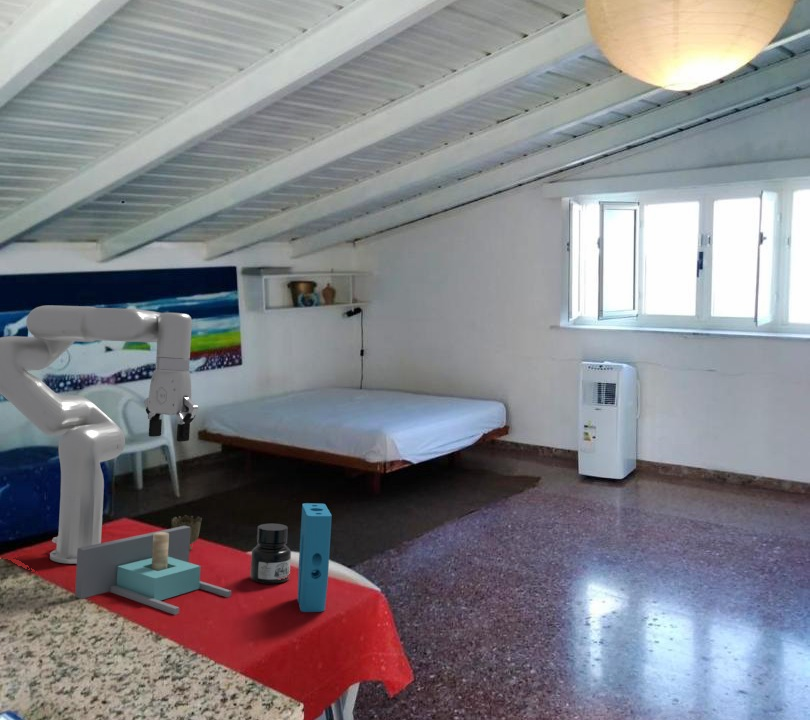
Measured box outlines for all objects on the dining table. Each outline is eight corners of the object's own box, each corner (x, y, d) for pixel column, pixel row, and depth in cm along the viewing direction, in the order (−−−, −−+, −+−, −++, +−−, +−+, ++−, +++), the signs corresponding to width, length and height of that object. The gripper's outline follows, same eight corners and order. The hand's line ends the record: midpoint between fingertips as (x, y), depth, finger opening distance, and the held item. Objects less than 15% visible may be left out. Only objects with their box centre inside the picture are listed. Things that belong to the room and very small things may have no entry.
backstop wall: (74, 596, 155) (77, 548, 155) (182, 567, 179) (184, 525, 179) (147, 623, 143) (150, 571, 143) (252, 589, 167) (255, 543, 166)
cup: (163, 550, 192) (165, 518, 192) (182, 544, 199) (183, 513, 199) (187, 554, 190) (189, 523, 189) (205, 548, 196) (207, 517, 196)
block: (326, 614, 154) (332, 516, 153) (301, 615, 153) (307, 516, 152) (319, 595, 165) (324, 503, 165) (296, 595, 164) (301, 503, 164)
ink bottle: (261, 587, 168) (264, 533, 168) (241, 577, 175) (244, 525, 174) (298, 580, 174) (301, 528, 174) (277, 570, 181) (280, 520, 181)
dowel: (147, 590, 162) (150, 534, 162) (159, 586, 165) (162, 531, 164) (157, 593, 160) (160, 536, 160) (169, 589, 163) (172, 534, 163)
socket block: (116, 589, 160) (117, 566, 160) (162, 576, 171) (163, 555, 171) (153, 602, 154) (155, 578, 154) (199, 588, 164) (200, 566, 164)
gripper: (135, 363, 179) (131, 435, 179) (185, 367, 170) (181, 444, 170) (160, 363, 185) (157, 433, 186) (210, 368, 176) (206, 441, 176)
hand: (168, 438), depth 178 cm, fingers open, 9 cm apart
